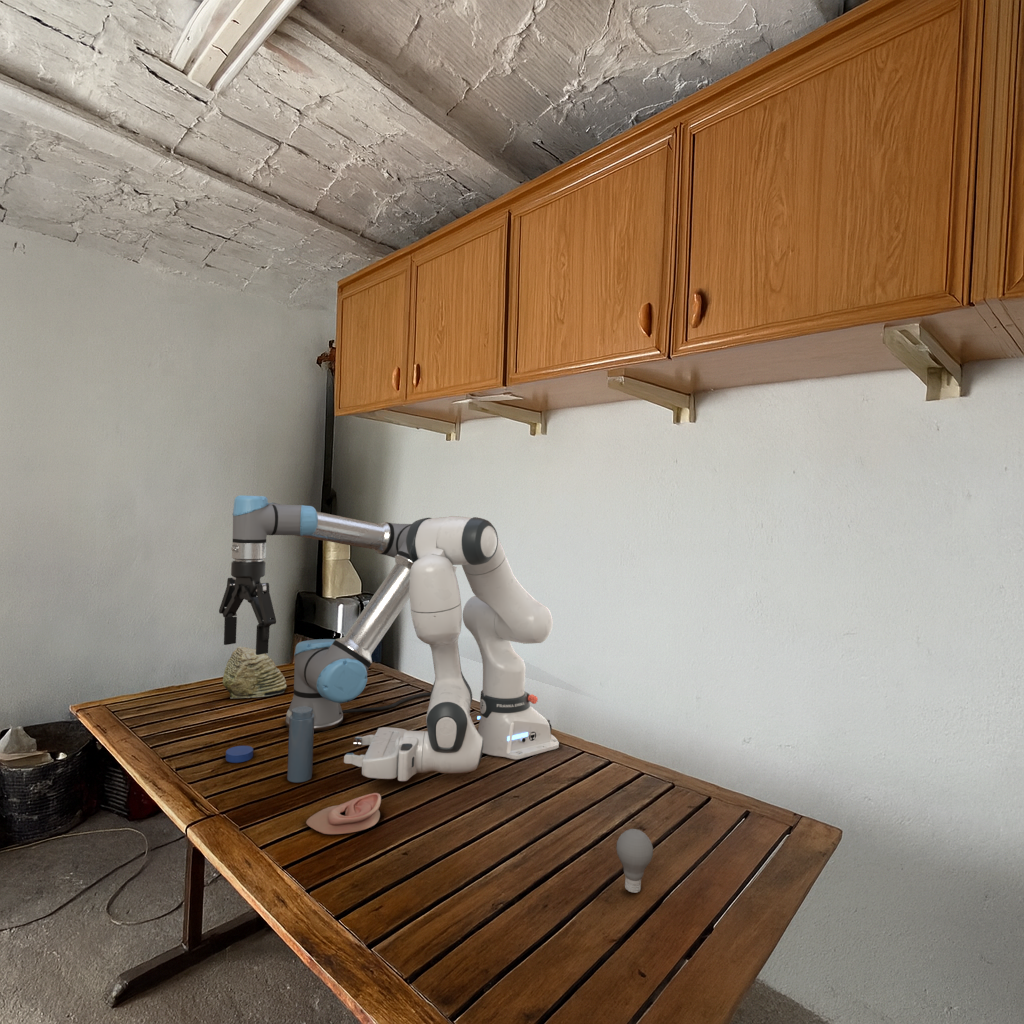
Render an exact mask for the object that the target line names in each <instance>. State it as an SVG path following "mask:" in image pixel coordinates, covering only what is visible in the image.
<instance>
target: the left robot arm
mask: <svg viewBox="0 0 1024 1024" xmlns="http://www.w3.org/2000/svg"><path fill="white" fill-rule="evenodd" d="M316 509H317V508H315V507H314V506H313V505H304V504H285V503H277V502H269V499H268V497H267V496H265V495H245V494H244V495H241V494H240V495H237V496H236V497H235V498H234V502H233V509H232V544H231V545H232V547H231V548H230V549H231V558H232V559H233V560H232V561H231V567H230V576H231V577H228V578H227V581H226V588H225V591H224V594H223V597H222V600H221V603H220V606H219V609H218V614H222V617H223V618H224V627H223V628H224V631H223V632H224V633H223V645H225V646H228V645H234V644H235V645H236V644H237V624H238V614H237V612H238V610H239V609H240V607H241V605H242V603H243V602H244V600H245V601H247V602H248V604H250V605H251V609H252V610H253V614H254V616H255V618H256V621H257V623H258V624H257V625H256V634H255V636H256V638H255V649H256V655H260V654H269V640H270V626H272V625H276V624H277V618H276V613H275V609H274V606H273V602H272V597H271V594H270V593H271V592H270V583H269V582H262V581H261V578H262V577H264V576H265V575H266V562H265V559H267V536H295V537H301V538H305V539H313V540H318V541H323V542H329V543H335V544H341V545H347V546H350V547H351V546H352V547H358V548H363V549H369V550H374V552H375V553H376V554H378V555H383V556H387V557H391V558H393V559H394V561H395V564H394V565H393V567H392V569H390V571H389V573H388V574H387V576H386V577H385V578H384V580H383V581H382V582H381V584H380V585H379V587H378V588H377V590H376V591H375V593H374V594H373V596H372V597H371V598H370V600H369V601H368V603H367V604H366V606H365V607H364V608H363V610H362V611H361V612H360V613H359V615H358V616H357V618H356V619H355V621H354V622H353V624H352V625H351V627H350V628H349V629H348V631H347V632H346V634H345V635H344V636H342V637H339V638H335V639H334V638H323V639H322V638H319V639H307V640H303V641H299V642H297V644H296V645H295V650H294V653H293V654H294V655H293V656H294V672H293V695H292V696H293V697H292V699H291V702H290V704H289V708H288V709H287V711H286V715H285V726H286V728H287V729H289V717H290V715H292V709H294V708H296V707H302V706H306V707H311V708H312V709H313V711H312V713H313V714H314V715H315V717H314V733H316V732H325V731H329V730H332V729H335V728H337V727H339V726H340V725H342V723H343V722H344V714H353V713H365V712H366V713H367V712H377V711H384V710H389V709H392V708H395V707H397V706H399V705H401V704H403V703H405V702H408V701H411V700H414V699H416V698H421V697H428V696H429V697H430V695H431V691H429V692H423V693H422V692H421V693H417V694H413V695H410V696H407V697H405V698H402V699H399V700H397V701H396V702H394V703H392V704H391V703H390V704H388V705H383V706H376V707H364V708H352V709H350V708H349V709H342V706H341V704H344V703H348V702H351V701H353V700H355V699H357V697H359V696H360V695H362V693H363V691H364V690H365V688H366V685H367V683H368V671H369V669H370V667H371V666H372V664H373V660H372V654H373V653H374V651H375V649H376V648H377V646H378V645H379V644H380V642H381V641H382V640H383V638H384V636H385V635H386V633H387V632H388V631H389V629H390V628H391V626H392V624H393V623H394V622H395V620H396V619H397V617H398V615H400V613H401V612H402V610H403V608H404V607H405V605H406V604H407V603H408V602H409V601H410V595H409V583H410V570H411V567H412V565H413V563H412V561H411V558H410V556H409V554H408V551H407V546H406V536H407V532H408V530H409V528H410V526H411V525H412V523H396V522H395V523H394V522H387V521H381V522H380V523H375V522H370V521H365V520H361V519H355V518H350V517H345V516H341V515H335V514H330V513H326V512H320V511H317V510H316Z"/></svg>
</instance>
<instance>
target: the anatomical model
mask: <svg viewBox="0 0 1024 1024" xmlns="http://www.w3.org/2000/svg"><path fill="white" fill-rule="evenodd" d="M381 803H382V796H381V794H380V793H379V792H373V793H368V794H364V795H362V796H358V797H356V798H353V799H351V800H348V801H346V802H343V803H340V804H338V805H332V806H328V807H325V808H323V809H321V810H319V811H317V812H315V813H313V814H312V815H311V816H310V817H308V818H307V819H306V821H305V824H306V825H307V826H308V827H309V828H311V829H312V830H314V831H316V832H319V833H321V834H323V835H343V834H351V833H356V832H362V831H365V830H367V829H369V828H370V829H371V828H372V827H374V826H375V825H376V824H377V823H379V821H380V818H381V812H380V810H379V809H380V807H381Z"/></svg>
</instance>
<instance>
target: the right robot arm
mask: <svg viewBox="0 0 1024 1024" xmlns="http://www.w3.org/2000/svg"><path fill="white" fill-rule="evenodd" d="M411 524H412V525H411V526H410V528H409V530H408V532H407V536H406V546H407V551H408V554H409V556H410V558H411V561H412V563H413V565H412V567H411V570H410V583H409V595H410V598H409V607H410V608H409V609H410V614H411V621H412V625H413V629H414V633H415V635H416V637H417V638H418V640H420V641H421V642H422V643H425V644H427V645H428V646H429V647H430V649H431V655H432V662H433V663H432V664H433V671H434V682H433V684H432V687H431V690H430V692H431V695H430V696H429V703H428V707H427V711H426V715H425V724H426V729H427V730H407V729H405V728H399V727H391V726H382V727H378V728H377V729H376V732H375V733H374V734H367V735H364V736H355V737H354V739H353V744H352V745H353V747H359V748H360V747H361V748H362V746H368V749H367V750H366V752H365V754H360V755H358V754H355V753H354V752H346V753H345V754H344V757H343V763H344V764H349V765H353V766H356V767H359V768H361V775H362V776H363V777H366V778H369V779H376V780H377V779H378V780H393V779H396V778H397V781H398V782H407V781H409V780H410V779H411V778H412V777H413V776H415V775H416V774H420V773H421V774H424V773H428V772H429V773H430V772H437V773H440V774H467V773H470V772H474V771H476V770H477V769H478V767H479V766H480V765H481V761H482V757H483V754H485V755H489V756H494V757H503V758H507V759H510V760H520V759H525V758H528V757H531V756H536V755H538V754H542V753H543V754H544V753H546V752H550V751H553V750H556V749H559V748H560V742H559V740H558V739H557V737H556V736H555V735H553V734H552V730H553V729H552V728H553V726H552V724H551V721H550V719H548V718H546V717H545V716H544V715H542V714H541V713H540V712H539V711H538V710H536V708H534V707H532V705H531V704H533V705H536V704H537V703H538V698H539V697H537V695H535V694H533V693H531V694H530V693H528V692H527V691H526V690H525V689H526V670H527V667H526V663H525V660H524V659H523V657H521V656H520V655H519V654H518V653H517V652H516V651H515V648H514V647H513V645H512V642H514V643H518V644H524V645H525V644H528V645H529V644H542V643H544V642H545V641H546V640H547V639H548V638H549V637H550V635H551V634H552V633H551V632H552V630H553V625H554V620H553V615H552V613H551V611H550V609H549V607H547V606H546V605H545V604H543V603H541V602H540V601H538V600H537V599H536V598H534V597H533V596H532V595H531V594H530V593H529V592H528V591H527V590H526V589H525V587H523V586H522V584H521V583H520V582H519V581H518V579H517V577H516V576H515V574H514V572H513V569H512V567H511V565H510V562H509V559H508V557H507V555H506V552H505V549H504V547H503V545H502V542H501V540H500V538H499V535H498V533H497V529H496V528H495V526H494V525H493V524H492V523H491V521H489V520H488V519H485V518H481V517H478V516H473V517H468V516H459V515H458V516H455V515H450V516H439V517H424V518H423V517H422V518H420V519H418V520H415V521H413V522H412V523H411ZM457 566H461V567H462V570H463V573H464V575H465V577H466V579H467V582H468V584H469V587H470V589H471V592H472V593H473V595H474V596H471V597H470V598H468V599H467V601H466V603H465V604H464V607H463V610H462V600H461V593H460V587H459V582H458V578H457V574H456V573H457V572H456V571H457ZM462 621H463V625H464V626H465V628H466V629H467V630H468V632H470V634H471V635H472V637H473V638H474V640H475V642H476V645H477V647H478V650H479V652H480V656H481V660H482V661H481V662H482V689H481V691H480V699H479V713H480V715H477V717H476V719H477V720H479V722H478V729H477V728H476V726H475V724H474V722H473V719H472V716H471V706H472V703H473V691H472V689H471V686H470V685H469V683H468V681H467V680H466V678H465V676H464V674H463V671H462V666H461V658H460V651H459V650H460V649H459V638H460V634H461V633H462V632H461V631H462Z"/></svg>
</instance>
